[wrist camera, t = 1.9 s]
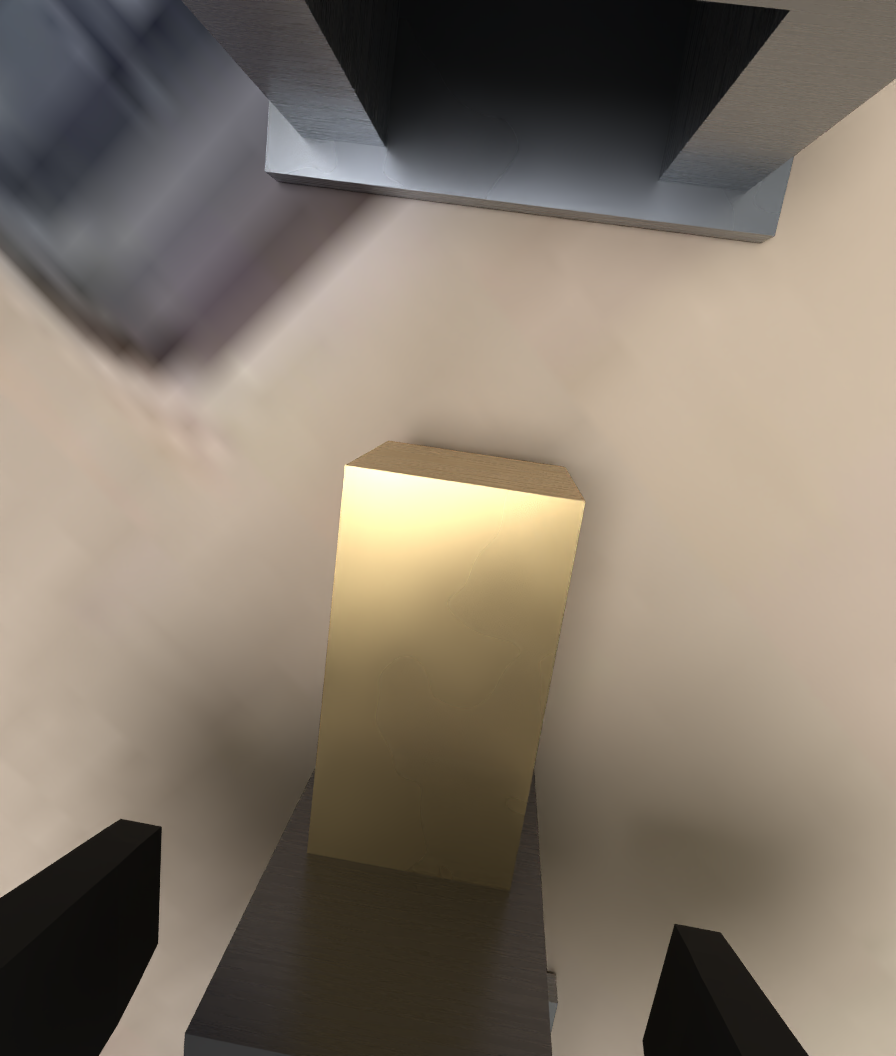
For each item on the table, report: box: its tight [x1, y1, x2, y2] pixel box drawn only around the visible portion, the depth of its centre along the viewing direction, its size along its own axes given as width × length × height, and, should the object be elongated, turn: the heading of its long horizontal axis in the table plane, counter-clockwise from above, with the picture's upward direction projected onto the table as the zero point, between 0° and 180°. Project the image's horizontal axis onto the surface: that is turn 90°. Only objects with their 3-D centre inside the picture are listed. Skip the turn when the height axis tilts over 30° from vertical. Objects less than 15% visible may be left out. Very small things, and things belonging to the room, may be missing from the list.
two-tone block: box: [184, 441, 585, 1056], centre depth 9 cm, size 17×3×6 cm, turn 172°
